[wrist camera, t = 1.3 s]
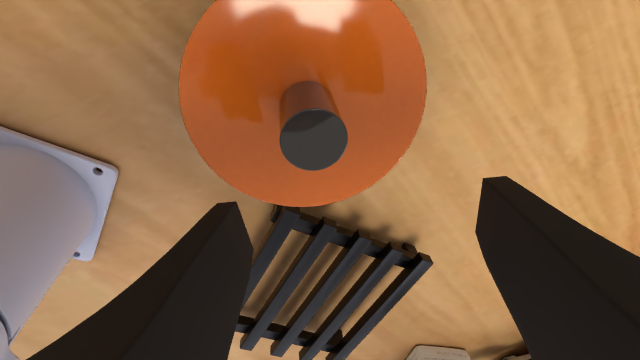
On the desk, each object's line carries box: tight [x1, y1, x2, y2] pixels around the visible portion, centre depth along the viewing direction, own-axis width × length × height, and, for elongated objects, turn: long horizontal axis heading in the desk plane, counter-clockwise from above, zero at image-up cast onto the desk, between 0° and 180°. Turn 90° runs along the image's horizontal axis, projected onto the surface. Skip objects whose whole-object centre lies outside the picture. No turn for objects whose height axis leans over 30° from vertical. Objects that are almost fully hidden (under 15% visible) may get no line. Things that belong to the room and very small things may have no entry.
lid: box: [179, 0, 427, 207], centre depth 14 cm, size 10×10×4 cm
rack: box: [235, 204, 433, 360], centre depth 26 cm, size 12×14×3 cm
